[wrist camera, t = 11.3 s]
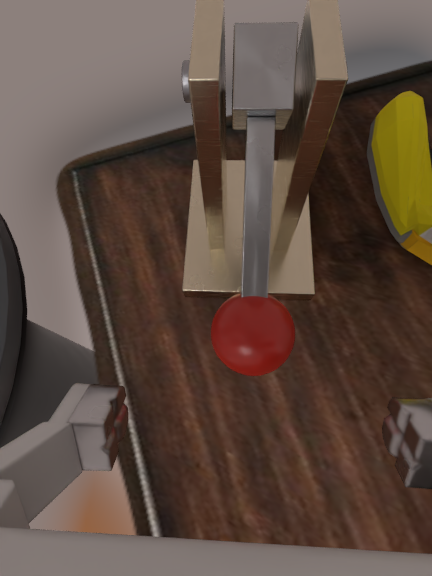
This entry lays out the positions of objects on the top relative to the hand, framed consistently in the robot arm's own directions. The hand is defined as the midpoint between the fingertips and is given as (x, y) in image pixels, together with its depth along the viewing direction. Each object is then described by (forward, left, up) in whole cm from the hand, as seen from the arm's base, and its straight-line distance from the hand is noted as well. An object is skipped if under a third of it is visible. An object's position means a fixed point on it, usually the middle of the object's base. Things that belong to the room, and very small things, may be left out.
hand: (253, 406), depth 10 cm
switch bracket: (0, +12, -9) cm, 15 cm away
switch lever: (0, +8, -2) cm, 8 cm away
